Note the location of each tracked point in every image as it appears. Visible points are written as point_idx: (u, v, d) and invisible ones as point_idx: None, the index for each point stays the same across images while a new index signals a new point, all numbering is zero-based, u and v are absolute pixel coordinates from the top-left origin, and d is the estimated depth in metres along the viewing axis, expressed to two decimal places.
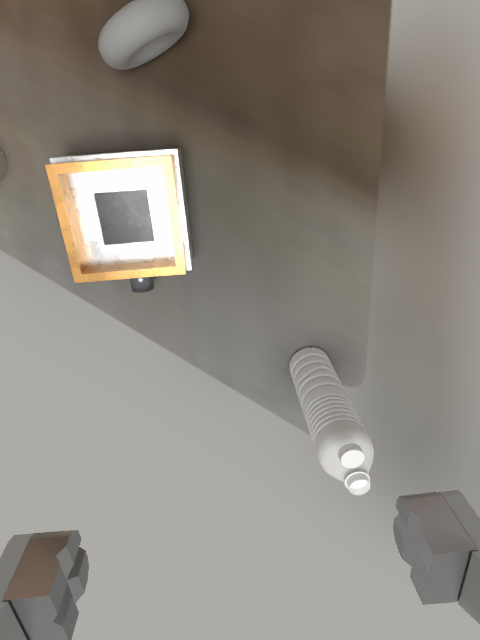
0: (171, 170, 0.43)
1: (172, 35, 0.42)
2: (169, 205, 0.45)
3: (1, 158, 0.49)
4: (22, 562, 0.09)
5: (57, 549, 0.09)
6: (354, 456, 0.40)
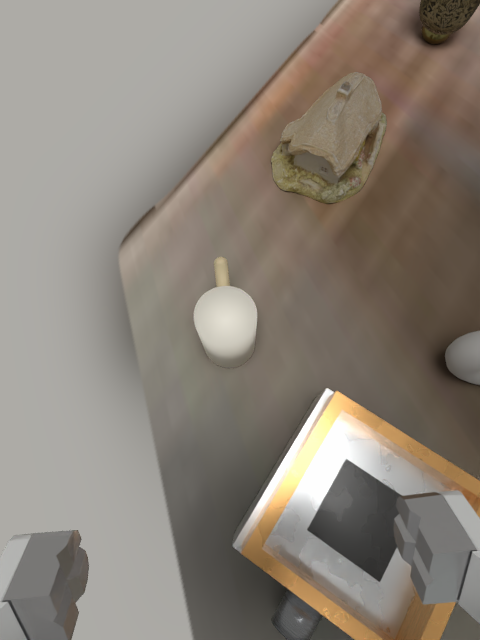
0: None
1: None
2: None
3: (252, 351, 0.40)
4: (22, 562, 0.09)
5: (57, 549, 0.09)
6: None
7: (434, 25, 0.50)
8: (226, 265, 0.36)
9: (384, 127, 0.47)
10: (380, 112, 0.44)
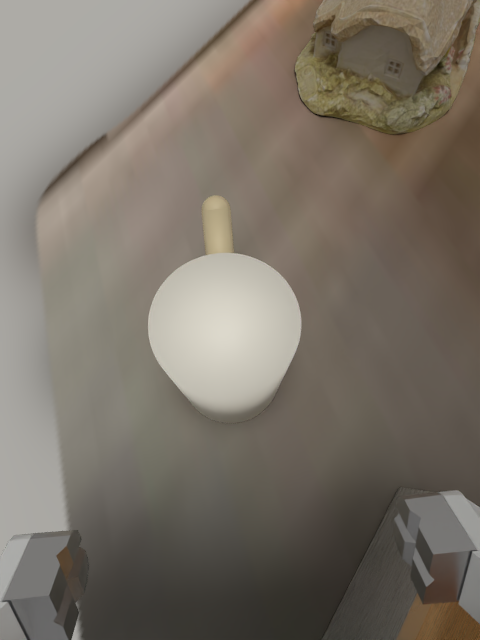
0: None
1: None
2: None
3: None
4: (22, 562, 0.09)
5: (57, 549, 0.09)
6: None
7: None
8: (227, 212, 0.17)
9: None
10: None
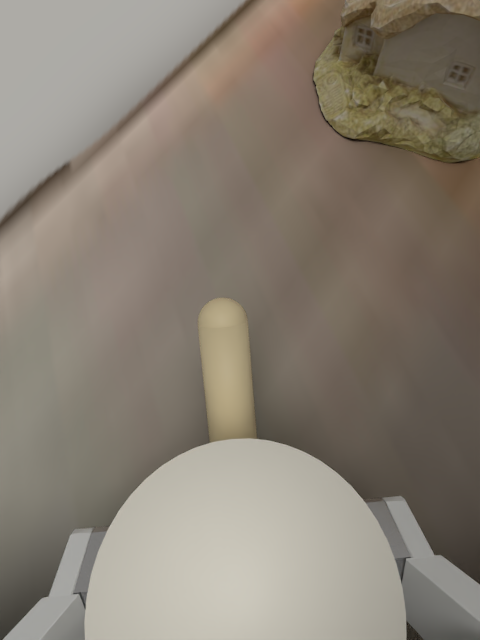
0: None
1: None
2: None
3: None
4: (87, 555, 0.09)
5: None
6: None
7: None
8: (243, 329, 0.09)
9: None
10: None
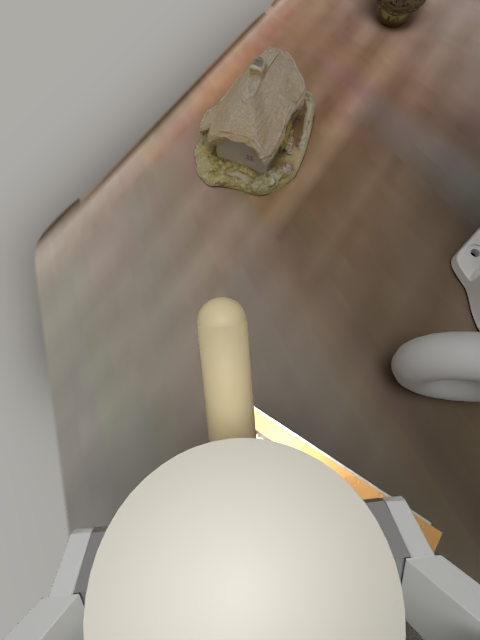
0: None
1: None
2: None
3: None
4: (87, 555, 0.09)
5: None
6: None
7: (390, 4, 0.46)
8: (242, 329, 0.09)
9: (313, 107, 0.43)
10: (304, 90, 0.40)
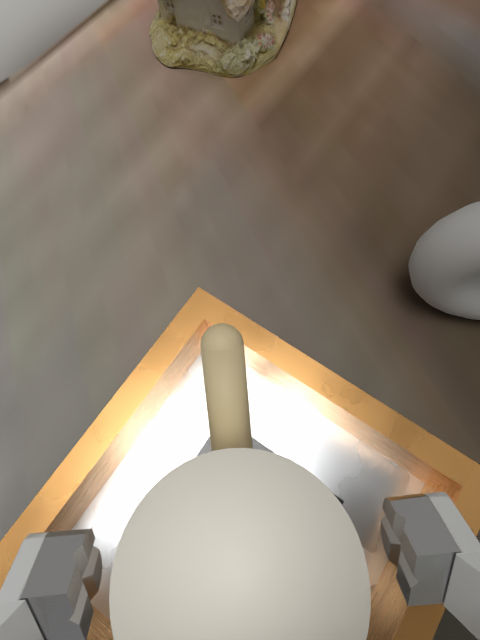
0: None
1: None
2: None
3: None
4: (38, 560, 0.09)
5: (72, 547, 0.09)
6: None
7: None
8: (239, 351, 0.11)
9: None
10: None
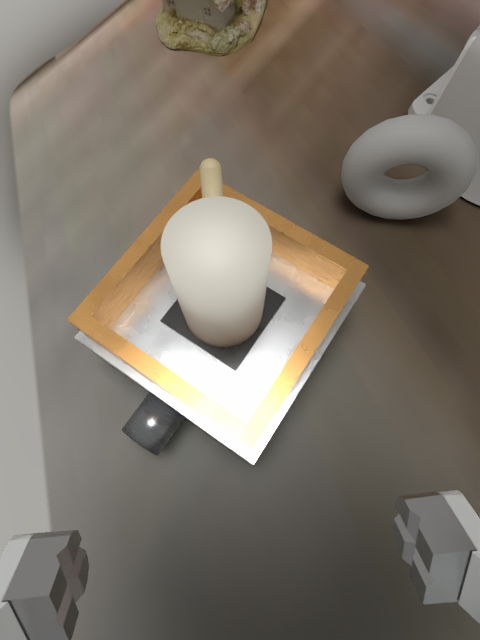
0: (356, 282, 0.24)
1: (434, 194, 0.32)
2: (316, 322, 0.24)
3: (259, 321, 0.25)
4: (22, 562, 0.09)
5: (57, 549, 0.09)
6: None
7: None
8: (219, 170, 0.22)
9: None
10: None
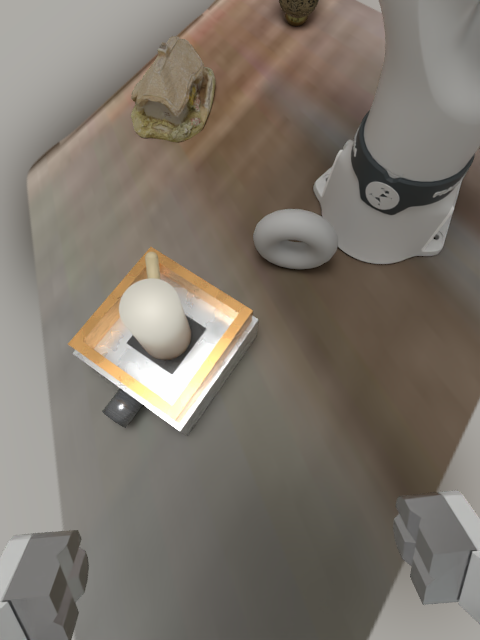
0: (243, 321, 0.40)
1: (313, 256, 0.48)
2: (217, 346, 0.39)
3: (186, 344, 0.41)
4: (22, 562, 0.09)
5: (57, 549, 0.09)
6: None
7: (288, 9, 0.64)
8: (156, 259, 0.38)
9: (213, 78, 0.61)
10: (201, 65, 0.57)
